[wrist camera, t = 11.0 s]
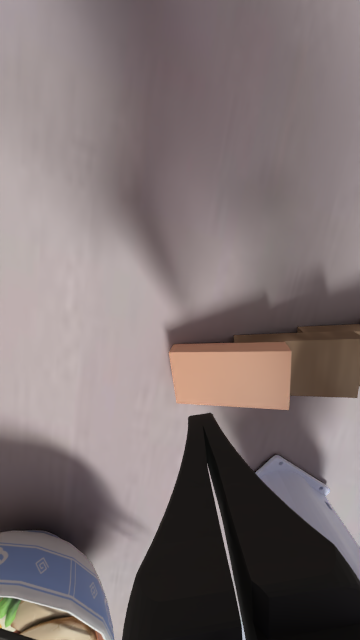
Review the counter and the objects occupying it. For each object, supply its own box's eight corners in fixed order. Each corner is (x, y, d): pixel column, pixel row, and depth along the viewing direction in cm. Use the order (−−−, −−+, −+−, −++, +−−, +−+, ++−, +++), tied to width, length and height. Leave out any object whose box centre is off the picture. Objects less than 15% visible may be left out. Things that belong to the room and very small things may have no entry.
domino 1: (233, 335, 17) (352, 330, 15) (236, 382, 19) (345, 385, 17) (234, 342, 16) (366, 338, 14) (237, 393, 17) (357, 397, 15)
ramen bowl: (-119, 550, 22) (-276, 706, 14) (5, 439, 19) (-110, 562, 11) (57, 621, 28) (15, 758, 20) (173, 546, 25) (176, 675, 17)
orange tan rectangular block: (173, 344, 17) (285, 341, 15) (180, 391, 19) (283, 396, 16) (168, 352, 16) (291, 351, 13) (176, 403, 17) (289, 410, 15)
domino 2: (297, 326, 17) (424, 321, 15) (295, 374, 19) (410, 375, 17) (304, 333, 16) (445, 328, 14) (301, 385, 17) (429, 387, 15)
